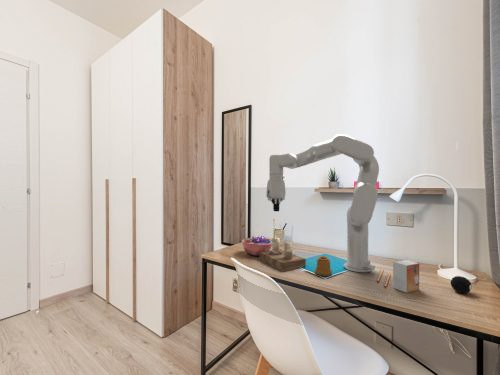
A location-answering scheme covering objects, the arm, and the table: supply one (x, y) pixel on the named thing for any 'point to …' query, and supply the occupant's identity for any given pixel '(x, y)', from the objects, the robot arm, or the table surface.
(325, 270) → the ornamental finial
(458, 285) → the billiard ball
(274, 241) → the birch leg
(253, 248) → the cell model
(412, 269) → the small box
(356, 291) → the table surface
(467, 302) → the table surface
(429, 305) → the table surface
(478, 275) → the table surface
